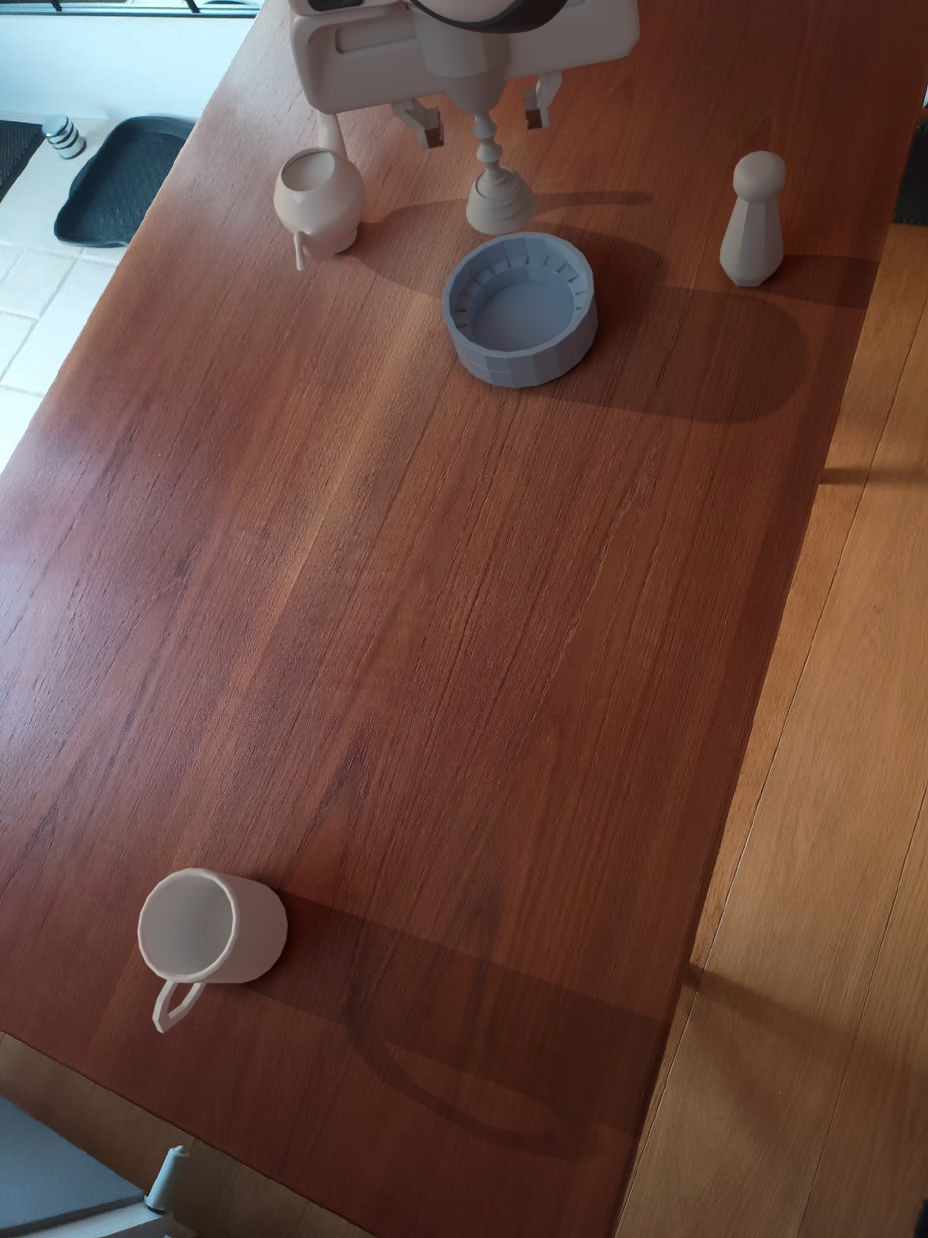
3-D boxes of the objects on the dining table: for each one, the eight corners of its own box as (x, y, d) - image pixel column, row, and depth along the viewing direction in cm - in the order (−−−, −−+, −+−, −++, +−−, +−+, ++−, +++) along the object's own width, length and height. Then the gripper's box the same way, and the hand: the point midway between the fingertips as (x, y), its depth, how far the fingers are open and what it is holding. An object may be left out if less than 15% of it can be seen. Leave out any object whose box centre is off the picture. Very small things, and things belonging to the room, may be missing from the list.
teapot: (279, 312, 102) (243, 251, 94) (312, 167, 109) (282, 98, 100) (364, 310, 100) (335, 247, 91) (392, 162, 106) (368, 90, 98)
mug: (161, 1008, 78) (94, 1012, 69) (221, 867, 82) (165, 853, 72) (244, 1048, 76) (186, 1056, 67) (303, 900, 79) (255, 890, 70)
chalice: (441, 242, 68) (371, 6, 52) (462, 168, 70) (401, -82, 54) (541, 246, 66) (502, 3, 50) (559, 170, 69) (527, -88, 52)
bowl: (592, 260, 96) (588, 220, 91) (603, 380, 91) (599, 344, 86) (453, 282, 99) (441, 244, 94) (455, 400, 94) (443, 367, 89)
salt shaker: (775, 241, 93) (790, 131, 81) (786, 288, 90) (803, 182, 79) (713, 252, 94) (720, 146, 82) (723, 299, 91) (731, 197, 80)
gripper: (635, -171, 49) (640, 66, 62) (260, -84, 53) (338, 124, 65) (648, -90, 47) (650, 138, 60) (255, -4, 50) (336, 195, 63)
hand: (484, 131), depth 62 cm, fingers closed on chalice, 5 cm apart
